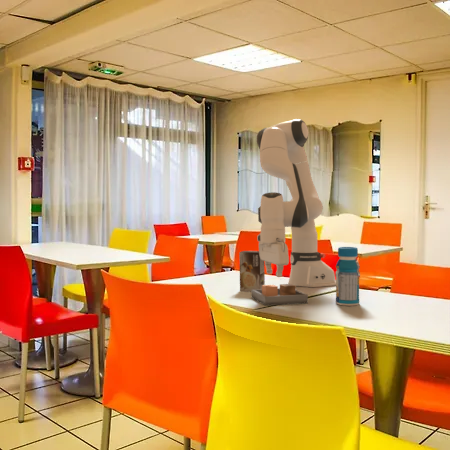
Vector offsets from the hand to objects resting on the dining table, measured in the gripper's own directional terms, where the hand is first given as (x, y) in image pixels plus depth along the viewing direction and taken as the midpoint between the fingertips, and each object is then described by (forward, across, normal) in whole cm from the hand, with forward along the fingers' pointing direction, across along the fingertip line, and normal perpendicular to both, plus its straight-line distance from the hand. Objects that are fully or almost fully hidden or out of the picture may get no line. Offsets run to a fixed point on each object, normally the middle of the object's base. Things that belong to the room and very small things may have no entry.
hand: (274, 275), depth 197 cm
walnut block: (+9, +1, -5) cm, 10 cm away
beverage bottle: (+10, -13, -22) cm, 28 cm away
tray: (+10, +1, -2) cm, 10 cm away
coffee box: (+10, +24, 0) cm, 26 cm away
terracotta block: (+8, +1, +2) cm, 9 cm away
